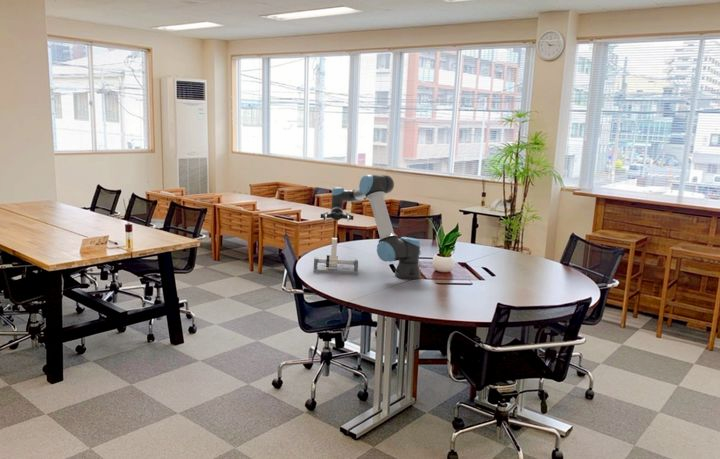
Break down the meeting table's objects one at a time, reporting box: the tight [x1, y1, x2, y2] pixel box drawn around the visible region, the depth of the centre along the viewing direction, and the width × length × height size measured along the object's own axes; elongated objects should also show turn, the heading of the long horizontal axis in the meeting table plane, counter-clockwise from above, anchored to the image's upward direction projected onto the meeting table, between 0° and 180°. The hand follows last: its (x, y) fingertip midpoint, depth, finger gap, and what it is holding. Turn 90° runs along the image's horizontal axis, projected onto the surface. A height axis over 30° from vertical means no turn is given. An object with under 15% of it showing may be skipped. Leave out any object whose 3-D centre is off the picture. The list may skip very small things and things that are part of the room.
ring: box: [325, 254, 329, 267], centre depth 348 cm, size 2×7×7 cm, turn 2°
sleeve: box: [328, 237, 339, 268], centre depth 347 cm, size 5×7×18 cm
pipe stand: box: [312, 257, 359, 276], centre depth 348 cm, size 26×10×8 cm, turn 92°
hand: (337, 219), depth 353 cm, fingers open, 13 cm apart
